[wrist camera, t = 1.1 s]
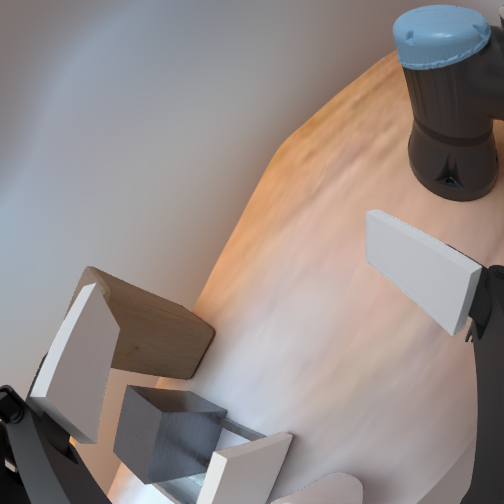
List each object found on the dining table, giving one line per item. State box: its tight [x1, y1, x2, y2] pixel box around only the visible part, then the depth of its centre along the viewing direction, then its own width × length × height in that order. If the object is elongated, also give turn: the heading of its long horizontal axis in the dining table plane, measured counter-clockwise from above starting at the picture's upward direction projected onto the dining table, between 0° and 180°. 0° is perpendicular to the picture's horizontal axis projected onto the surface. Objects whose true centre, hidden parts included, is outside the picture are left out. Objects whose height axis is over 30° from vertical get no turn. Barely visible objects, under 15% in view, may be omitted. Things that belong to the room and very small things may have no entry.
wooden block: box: [64, 266, 214, 380], centre depth 36 cm, size 10×10×20 cm
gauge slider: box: [196, 432, 293, 504], centre depth 21 cm, size 6×17×13 cm, turn 159°
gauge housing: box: [113, 385, 267, 504], centre depth 26 cm, size 18×17×12 cm
